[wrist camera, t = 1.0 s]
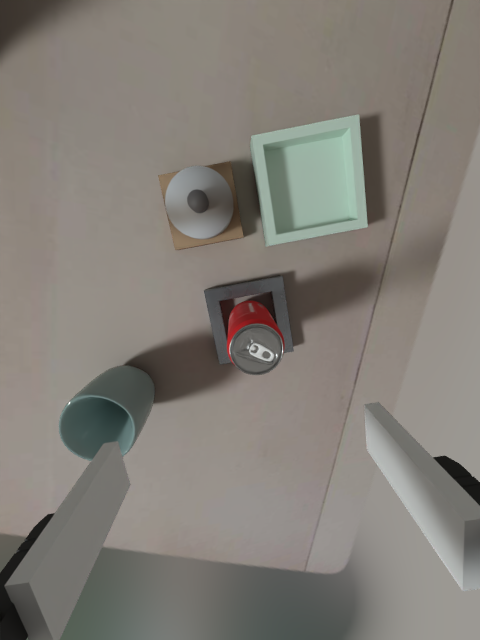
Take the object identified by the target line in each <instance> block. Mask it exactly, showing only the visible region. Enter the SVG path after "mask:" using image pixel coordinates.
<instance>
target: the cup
mask: <svg viewBox="0 0 480 640" xmlns="http://www.w3.org/2000/svg"><path fill="white" fill-rule="evenodd" d="M154 397H155V387H154V383H153V380H152V379H151V377H150V376H149V375H148V374H147V373H146V372H145V371H143V370H141V369H139V368H137V367H133V366H126V365H124V366H117V367H114V368H111V369H109V370H107V371H105V372H104V373H102V374H100V375H99V376H97V377H96V378H95V379H94V380H92V381H91V382H90V383H89V384H88V385H86V386H85V387H84V388H83V389H82V390H81V391H80V392H78V393H77V394H76V395H75V396H74V397H73V398H72V399H71V400H70V401H69V402H68V403H67V405H66V406H65V408H64V410H63V411H62V414H61V416H60V421H59V433H60V437H61V439H62V441H63V443H64V445H65V446H66V447H67V448H68V449H69V450H70V451H71V452H72V453H74V454H75V455H77V456H79V457H81V458H83V459H86V460H89V461H92V459H93V458H94V457H95V455H96V454H97V452H98V451H99V449H100V448H101V447H102V445H103V444H104V443H109V442H116V441H118V443H119V447H120V450H121V454H122V457H123V456H124V455H125V454H126V453H127V452H128V451H129V450H130V449H131V448H132V446H133V445H134V443H135V442H136V440H137V438H138V436H139V434H140V432H141V431H142V429H143V427H144V425H145V423H146V421H147V418H148V416H149V414H150V412H151V409H152V406H153V402H154Z"/></svg>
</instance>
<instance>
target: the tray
mask: <svg viewBox="0 0 480 640" xmlns="http://www.w3.org/2000/svg"><path fill="white" fill-rule="evenodd" d="M250 150H251V156H252V162H253V169H254V175H255V181H256V188H257V194H258V200H259V207H260V213H261V219H262V226H263V232H264V238H265V245H266V246H271V245H277V244H282V243H287V242H292V241H298V240H303V239H308V238H314V237H319V236H324V235H329V234H335V233H340V232H345V231H351V230H356V229H361V228H366V227H368V224H367V211H366V198H365V185H364V172H363V159H362V146H361V133H360V120H359V115H353V116H348V117H343V118H338V119H333V120H328V121H323V122H318V123H313V124H308V125H303V126H298V127H293V128H288V129H283V130H278V131H273V132H268V133H263V134H258V135H253V136H251V143H250Z"/></svg>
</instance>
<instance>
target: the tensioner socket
mask: <svg viewBox="0 0 480 640" xmlns="http://www.w3.org/2000/svg"><path fill="white" fill-rule="evenodd" d="M270 291H271V296H272V302H273V308H274V314H275V321H276V324H277V326H278V328H279V329H280V331H281V333H282V335H283V338H284V343H285V348H284V353H286V352H292V351H294V350H293V343H292V336H291V330H290V323H289V316H288V309H287V303H286V296H285V289H284V282H283V276H281V275H280V276H275V277H270V278H264V279H259V280H254V281H248V282H243V283H238V284H232V285H227V286H222V287H216V288H211V289H205V290H204V293H205V298H206V303H207V308H208V312H209V317H210V322H211V326H212V331H213V336H214V340H215V345H216V350H217V354H218V359H219V364H225V363H231V360H230V358H229V356H228V352H227V334H226V329H225V324H224V319H223V314H222V309H221V304H220V301H221V300H227V299H232V298H238V297H243V296H248V295H254V294H259V293H265V292H270Z"/></svg>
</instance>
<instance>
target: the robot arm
mask: <svg viewBox="0 0 480 640" xmlns="http://www.w3.org/2000/svg"><path fill="white" fill-rule="evenodd" d="M364 411H365V427H366V443H367V451H368V452H369V454H370V455H371V457H372V458H373V459H374V461H375V462H376V464H377V465H378V467H379V468H380V470H381V471H382V473H383V474H384V476H385V477H386V479H387V480H388V482H389V483H390V485H391V486H392V487H393V489H394V490H395V492H396V493H397V495H398V496H399V498H400V499H401V501H402V502H403V504H404V505H405V507H406V508H407V510H408V511H409V513H410V514H411V516H412V517H413V519H414V520H415V521H416V523H417V524H418V526H419V527H420V529H421V530H422V532H423V533H424V535H425V536H426V538H427V539H428V541H429V542H430V544H431V545H432V547H433V548H434V550H435V551H436V552H437V554H438V555H439V557H440V558H441V560H442V561H443V563H444V564H445V566H446V567H447V569H448V570H449V572H450V573H451V574H452V576H453V578H454V579H455V581H456V582H457V583H458V585H459V586H460V588H461V589H462V591H467V590H475V589H480V482H479V481H478V480H476V478H474V477H472V476H471V474H470V473H469V472H468V471H467V470H466V469H465V468H464V467H462V466H461V465H460V464H459V463H457V462H455V461H454V460H452V459H450V458H448V457H447V456H440V457H432V456H431V455H430V454H429V453H428V452H427V451H426V450H425V449H424V448H423V447H422V446H421V445H420V444H419V443H418V442H417V441H416V440H415V439H414V438H413V437H412V436H411V435H410V434H409V433H408V432H407V431H406V430H405V429H404V428H403V427H402V426H401V425H400V424H399V423H398V421H397V420H396V419H394V417H393V416H392V415H391V414H390V413H389V412H388V411H387V410H386V409H385V408H384V407H383V406H382V405H381V404H380V403H379V402H377V403H370V404H364ZM129 486H130V481H129V478H128V474H127V471H126V468H125V464H124V461H123V457H122V454H121V450H120V447H119V443H118V441H116V442H109V443H104V444H103V445H102V447H101V448H100V449H99V451H98V452H97V454H96V455H95V457H94V458H93V459H92V461H91V462H90V464H89V465H88V467H87V468H86V469H85V471H84V472H83V474H82V475H81V477H80V478H79V480H78V481H77V482H76V484H75V485H74V487H73V488H72V490H71V491H70V492H69V494H68V495H67V497H66V498H65V500H64V501H63V502H62V504H61V505H60V507H59V508H58V510H57V511H56V512H55V513H54V514H48V515H47V516H46V517H44V518H43V519H42V520H41V521H40V522H39V523H38V524H37V525H36V526H35V527H34V528H33V529H32V531H31V532H30V533H29V535H28V536H27V538H26V539H25V542H23V543H22V544H21V546H20V547H19V548H18V550H17V553H16V554H14V555H13V557H12V558H11V559H10V561H9V562H8V563H7V565H6V566H5V568H4V569H3V570H2V571H1V573H0V640H26V639H27V637H28V639H29V640H60V637H61V635H62V633H63V631H64V629H65V627H66V624H67V622H68V620H69V618H70V616H71V613H72V611H73V609H74V607H75V605H76V602H77V600H78V598H79V596H80V594H81V591H82V589H83V587H84V585H85V583H86V581H87V578H88V576H89V574H90V572H91V569H92V567H93V565H94V563H95V561H96V559H97V556H98V554H99V552H100V550H101V548H102V546H103V543H104V541H105V539H106V537H107V535H108V532H109V530H110V528H111V526H112V524H113V521H114V519H115V517H116V515H117V513H118V511H119V508H120V506H121V504H122V502H123V500H124V497H125V495H126V493H127V491H128V489H129Z"/></svg>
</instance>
